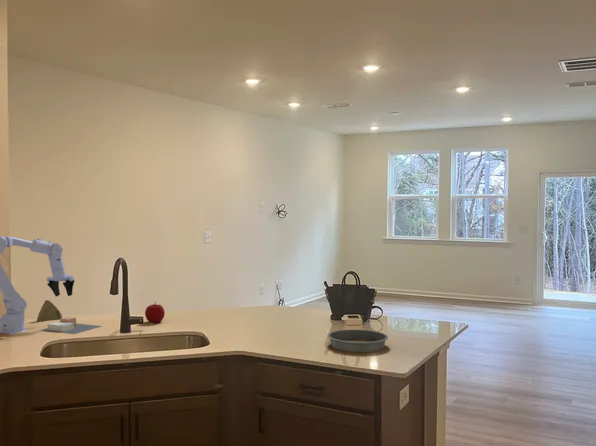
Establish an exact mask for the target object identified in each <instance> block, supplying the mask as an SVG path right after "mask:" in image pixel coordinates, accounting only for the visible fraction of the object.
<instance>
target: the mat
mask: <svg viewBox="0 0 596 446" xmlns="http://www.w3.org/2000/svg"><path fill="white" fill-rule="evenodd" d="M101 327H103V325H93V324H86V323H85V324H84V323H76V326H75V327H73V329H71V330H68V331H64V332H63V331H53V330H48V327H46V328H42V329H40V331H43V332H49V333H52V332H53V333H60V334H70V335H76V334H81V333H84V332H87V331H90V330H94V329H97V328H101Z"/></svg>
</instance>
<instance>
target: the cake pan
mask: <svg viewBox="0 0 596 446" xmlns="http://www.w3.org/2000/svg"><path fill="white" fill-rule="evenodd" d="M327 338H329V340H330V344H331V347H333V349H336V350H338V351H343V352H351V353H371V352H372V353H373V352H377V351H381V350H383V349H384V348H385V343H386V341H388V339H389V336H388V335H387V334H386V333H384V332H382V331H381V332H380V331H376V330H370V329H369V330H368V329H354V328H352V329H339V330H333V331H331V332H329V333H328V334H327ZM351 340H352V341H351ZM353 340H354V341H353ZM355 340H356V341H355Z"/></svg>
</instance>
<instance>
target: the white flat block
mask: <svg viewBox="0 0 596 446" xmlns="http://www.w3.org/2000/svg"><path fill="white" fill-rule="evenodd" d="M47 328H48V330H53V331H63V332H64V331H68V330H71V329H73V323H68V322H60V321H56V322H55V321H54V322H52V323H51V322H50V323H47Z"/></svg>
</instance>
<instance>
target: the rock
mask: <svg viewBox="0 0 596 446" xmlns="http://www.w3.org/2000/svg"><path fill="white" fill-rule="evenodd" d="M36 318H37V319H36V322H47V321H56V320H59V321H60V319H61V318H63V316H62V313H61V311H60V310H59V309H58V307H56V305H54V303H53V302H52V301H50V300H47V299H46V300H44V303H43V304H42V306H41V308H40V311H39V312H38V316H37V317H36Z"/></svg>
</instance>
